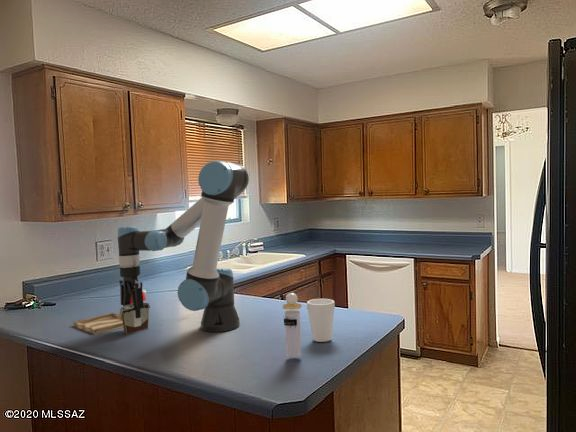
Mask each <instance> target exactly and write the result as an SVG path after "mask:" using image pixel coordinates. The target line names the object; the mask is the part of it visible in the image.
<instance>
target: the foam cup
mask: <svg viewBox="0 0 576 432" xmlns="http://www.w3.org/2000/svg"><path fill="white" fill-rule="evenodd" d="M335 307H336V305H335V300H333V299H331V298H313V299H309V300H308V301H306V309H307V312H308V319H309V324H310V330H311V336H312V340H313V341H314V342H320V343H322V342H323V343H324V342H330V341H331V340H332V336H333V335H332V334H333V323H334V313H335V312H334V311H335Z"/></svg>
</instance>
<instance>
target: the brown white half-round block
mask: <svg viewBox="0 0 576 432" xmlns="http://www.w3.org/2000/svg"><path fill="white" fill-rule="evenodd" d="M143 304H144V308H141V309H140V314H141V326H137V327H134V323H133V310H132V309H134V306H133V304H129V305H125V306H123V305H122V306H121V307H120V309H119V315H121V316H122V321H123V332H124V335H125V336H128V335H131V334H136V333H139V332H143V331H146V330H149V319H150V318H149V316H150V315H149V313H150V312H149V311H150V309H151V304H150V303H148V302H143Z"/></svg>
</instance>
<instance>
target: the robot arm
mask: <svg viewBox="0 0 576 432" xmlns="http://www.w3.org/2000/svg"><path fill="white" fill-rule="evenodd" d="M249 180H250V177H249V173H248V171H247V169H246V168H245V167H244V166H243V165H242V164H239V163H237V162H229V161H224V160H213V161H210V162H209V161H208V162H207V163H206V164H204V165H203V166H202V168H201V169H200V171H199V173H198V177H197V181H198V185H199V187H200V189H201V193H200V194H201V195H200V196H201V198H199V199H198V200H197V201H196V202H195V203H194V204H192V205H191V206H190V207H189V208H188V209H187V210H186V211H185V212H183V213H182V214H181V215H180V216H179V217H178V218H177V219H175V220H174V221H173V222H172V223H170V225H168V226H167V227H166V228H163V229H156V230H155V229H153V230H144V231H140V230H139V227H138V226H137V225H126V226H125V225H124V226H120V227H118V228H117V244H118V265H119V277H121V278H122V279H120V280H119V287H120V288H119V289H120V294H119V295H120V305H121V306H122V307H123V306H125V305H129V304H130V302H131V297H132V302H133V306H134V309H132V310H133V323H134V327H137V326H141V314H140V309H141V308H144V304H143V303H144V301H143V293H142V290H143V282H142V281H141V282H140V281H139V280H138V279H139V278H138V276H140V275H141V266H140V263H141V262H140V258H141V257H140V251H141V252H142V251H144V252H145V251H147V252H149V251H150V252H151V251H152V252H156V251H157V252H158V251H162V250H164V249H166V248H173V247H177V246H180V245H181V244H182V243H183V242H184V240H185V237H186V236H188V235H189V234H190V233H192V231H194V230H195V229H196V228H197V227H198V226H199V230H198V235H197V240H196V246H195V250H194V255H193V257H194V258H193V261H192V265H191V267H189V268H187V271H186V275H185V279H184V280H183V281H181V282H180V283H179V285H178V286H177V287H178V288H177V298H178V300H179V302H180V303H181V305H182V306H183V308H185V309H187V310H189V311H191V312H197V311H201V310H203V313H202V317H201V321H200V329H201V330H202V331H205V332H211V333H218V332H227V331H232V330H235V329H237V328H239V327H240V325H241V323H240V320H241V319H240V317H239V315H238V312H237V309H236V307H235V291H234V288H235V287H234V274H233V270H232V269H231V268H219V267H218V261H219V256H220V252H221V247H222V241H223V236H224V231H225V226H226V220H227V217H228V210H229V207H230V205H232V204H233V203H234V202H235V200H236V198H238V197H239V196H240V195H242V193H244V191H245V190H246V189H247V187H248V185H249ZM217 267H218V268H217Z"/></svg>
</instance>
